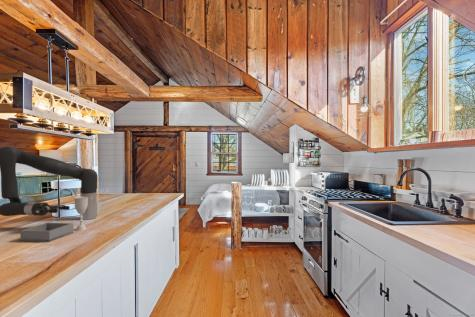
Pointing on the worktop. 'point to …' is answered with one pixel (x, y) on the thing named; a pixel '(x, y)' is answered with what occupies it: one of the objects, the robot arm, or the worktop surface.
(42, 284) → the worktop surface
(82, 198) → the chalice
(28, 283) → the worktop surface
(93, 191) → the robot arm
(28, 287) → the worktop surface
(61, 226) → the box
